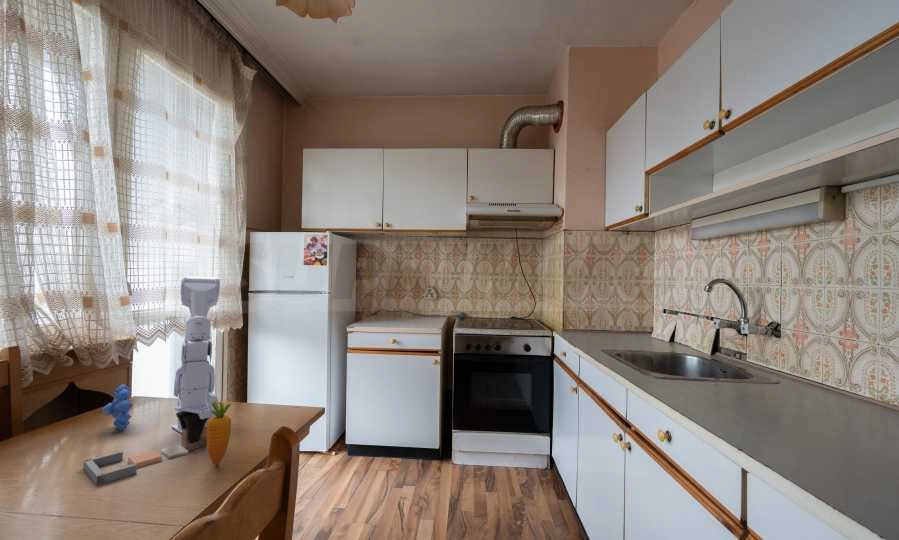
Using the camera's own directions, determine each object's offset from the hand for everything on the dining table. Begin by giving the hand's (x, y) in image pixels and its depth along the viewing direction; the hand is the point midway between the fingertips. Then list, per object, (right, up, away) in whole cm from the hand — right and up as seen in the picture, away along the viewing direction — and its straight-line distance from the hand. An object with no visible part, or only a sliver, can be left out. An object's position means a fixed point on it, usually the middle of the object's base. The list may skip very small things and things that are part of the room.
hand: (191, 440), depth 99 cm
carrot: (+12, -2, -9) cm, 15 cm away
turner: (-1, -2, -1) cm, 2 cm away
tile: (-6, -2, -8) cm, 10 cm away
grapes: (-28, -1, +10) cm, 30 cm away
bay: (-9, -1, -13) cm, 16 cm away
